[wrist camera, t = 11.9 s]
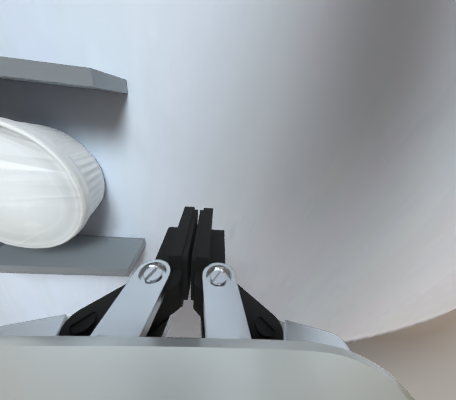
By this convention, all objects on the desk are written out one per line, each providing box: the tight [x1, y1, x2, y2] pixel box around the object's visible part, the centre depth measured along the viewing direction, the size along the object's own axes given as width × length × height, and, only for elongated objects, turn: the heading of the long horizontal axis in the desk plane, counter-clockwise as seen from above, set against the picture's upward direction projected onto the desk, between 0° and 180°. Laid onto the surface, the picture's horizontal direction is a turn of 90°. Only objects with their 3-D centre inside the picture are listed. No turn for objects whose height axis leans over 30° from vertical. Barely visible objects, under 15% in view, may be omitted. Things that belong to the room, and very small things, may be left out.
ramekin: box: [0, 117, 105, 248], centre depth 17 cm, size 11×11×5 cm
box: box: [0, 57, 145, 276], centre depth 17 cm, size 15×18×5 cm
